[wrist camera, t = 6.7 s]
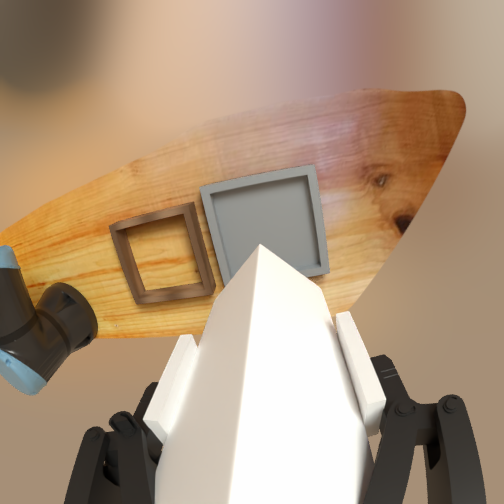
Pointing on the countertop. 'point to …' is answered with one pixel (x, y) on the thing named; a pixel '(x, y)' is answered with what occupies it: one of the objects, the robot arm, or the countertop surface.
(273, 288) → the milk
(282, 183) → the tray
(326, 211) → the countertop surface
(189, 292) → the frame
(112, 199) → the countertop surface
